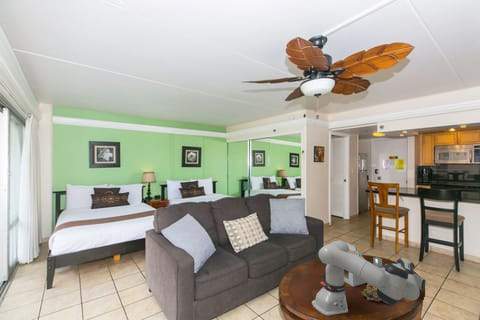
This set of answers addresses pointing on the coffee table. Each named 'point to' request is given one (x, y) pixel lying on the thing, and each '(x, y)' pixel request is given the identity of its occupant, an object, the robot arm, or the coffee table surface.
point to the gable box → (349, 276)
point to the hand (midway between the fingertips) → (380, 266)
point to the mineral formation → (371, 293)
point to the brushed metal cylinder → (377, 261)
